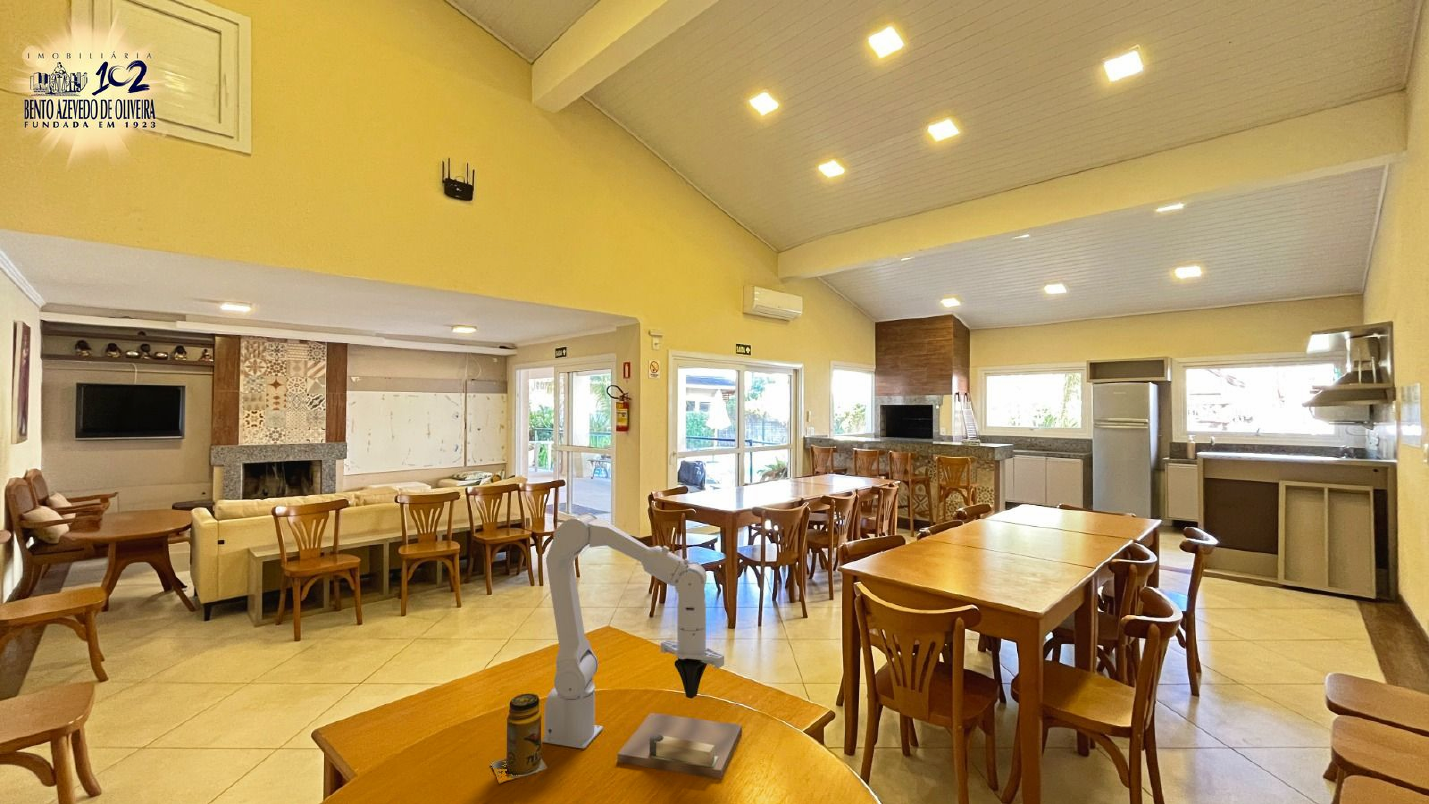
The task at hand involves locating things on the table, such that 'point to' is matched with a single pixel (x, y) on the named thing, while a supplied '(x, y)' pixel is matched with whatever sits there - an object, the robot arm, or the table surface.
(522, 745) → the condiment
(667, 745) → the leg
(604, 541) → the robot arm
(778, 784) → the table surface
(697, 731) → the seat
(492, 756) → the table surface
